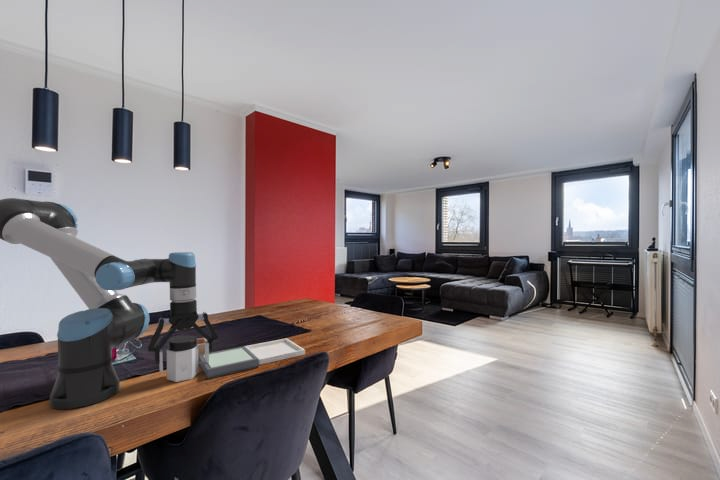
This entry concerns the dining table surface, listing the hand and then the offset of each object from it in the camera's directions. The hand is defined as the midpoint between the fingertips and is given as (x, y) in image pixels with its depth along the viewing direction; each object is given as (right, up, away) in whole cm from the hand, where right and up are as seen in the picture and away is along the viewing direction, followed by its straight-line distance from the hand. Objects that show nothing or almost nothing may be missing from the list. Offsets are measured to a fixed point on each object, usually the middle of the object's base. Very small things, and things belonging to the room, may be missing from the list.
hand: (185, 366), depth 106 cm
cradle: (+10, -3, +9) cm, 14 cm away
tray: (+23, -3, +22) cm, 32 cm away
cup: (-4, -3, +16) cm, 16 cm away
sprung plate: (+10, -1, +9) cm, 14 cm away
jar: (-1, -3, 0) cm, 3 cm away
